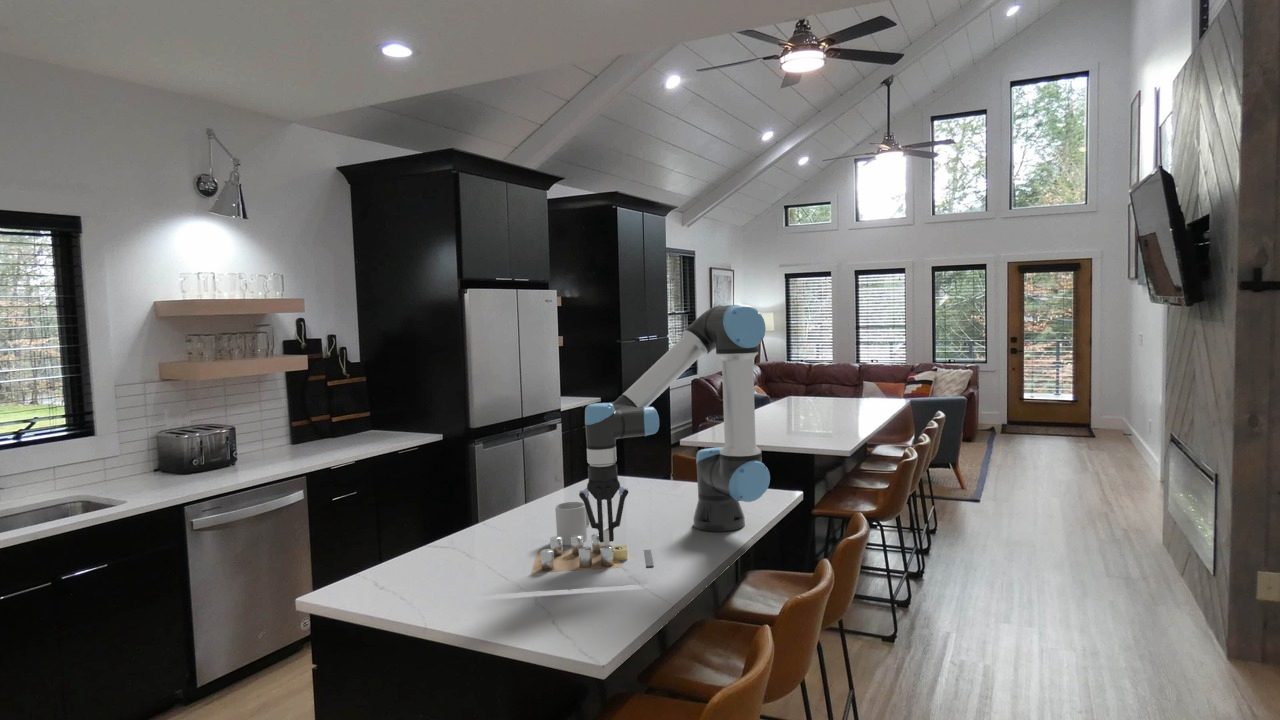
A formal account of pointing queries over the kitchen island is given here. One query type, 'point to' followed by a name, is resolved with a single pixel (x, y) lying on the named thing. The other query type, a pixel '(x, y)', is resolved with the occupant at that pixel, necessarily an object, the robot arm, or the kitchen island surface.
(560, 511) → the mug
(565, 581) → the kitchen island surface
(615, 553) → the nut
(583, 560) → the spacers
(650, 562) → the mat
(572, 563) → the board
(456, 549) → the kitchen island surface
